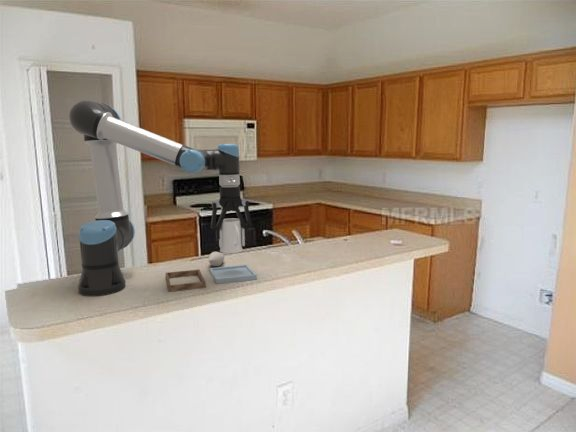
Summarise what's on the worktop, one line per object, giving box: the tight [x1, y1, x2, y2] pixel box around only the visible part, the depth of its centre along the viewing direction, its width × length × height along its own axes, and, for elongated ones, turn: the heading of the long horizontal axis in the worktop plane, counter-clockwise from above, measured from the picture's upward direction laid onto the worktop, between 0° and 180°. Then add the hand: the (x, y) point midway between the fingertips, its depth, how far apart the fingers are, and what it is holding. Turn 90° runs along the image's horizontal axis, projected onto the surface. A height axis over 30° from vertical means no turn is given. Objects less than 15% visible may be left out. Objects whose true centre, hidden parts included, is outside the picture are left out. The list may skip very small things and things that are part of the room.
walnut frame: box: [165, 268, 207, 293], centre depth 155 cm, size 13×17×2 cm
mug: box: [219, 217, 243, 254], centre depth 160 cm, size 12×8×12 cm
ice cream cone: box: [207, 251, 225, 267], centre depth 175 cm, size 6×6×15 cm
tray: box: [209, 264, 258, 285], centre depth 162 cm, size 15×15×2 cm
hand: (232, 246), depth 161 cm, fingers closed on mug, 8 cm apart
